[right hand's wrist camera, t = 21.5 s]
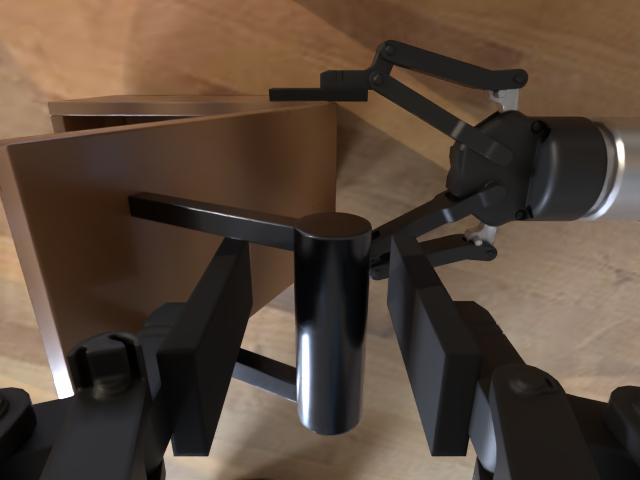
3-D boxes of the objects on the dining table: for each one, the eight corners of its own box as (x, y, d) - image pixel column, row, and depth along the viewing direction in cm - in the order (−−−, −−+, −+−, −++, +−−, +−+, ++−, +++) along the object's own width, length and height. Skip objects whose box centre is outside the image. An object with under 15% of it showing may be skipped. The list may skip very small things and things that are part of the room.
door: (68, 433, 14) (303, 576, 10) (-18, 141, 10) (295, 182, 6) (321, 247, 29) (454, 275, 25) (322, 102, 26) (477, 108, 22)
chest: (135, 206, 38) (79, 247, 29) (116, 95, 35) (46, 102, 26) (324, 205, 39) (327, 246, 29) (324, 95, 35) (329, 102, 26)
